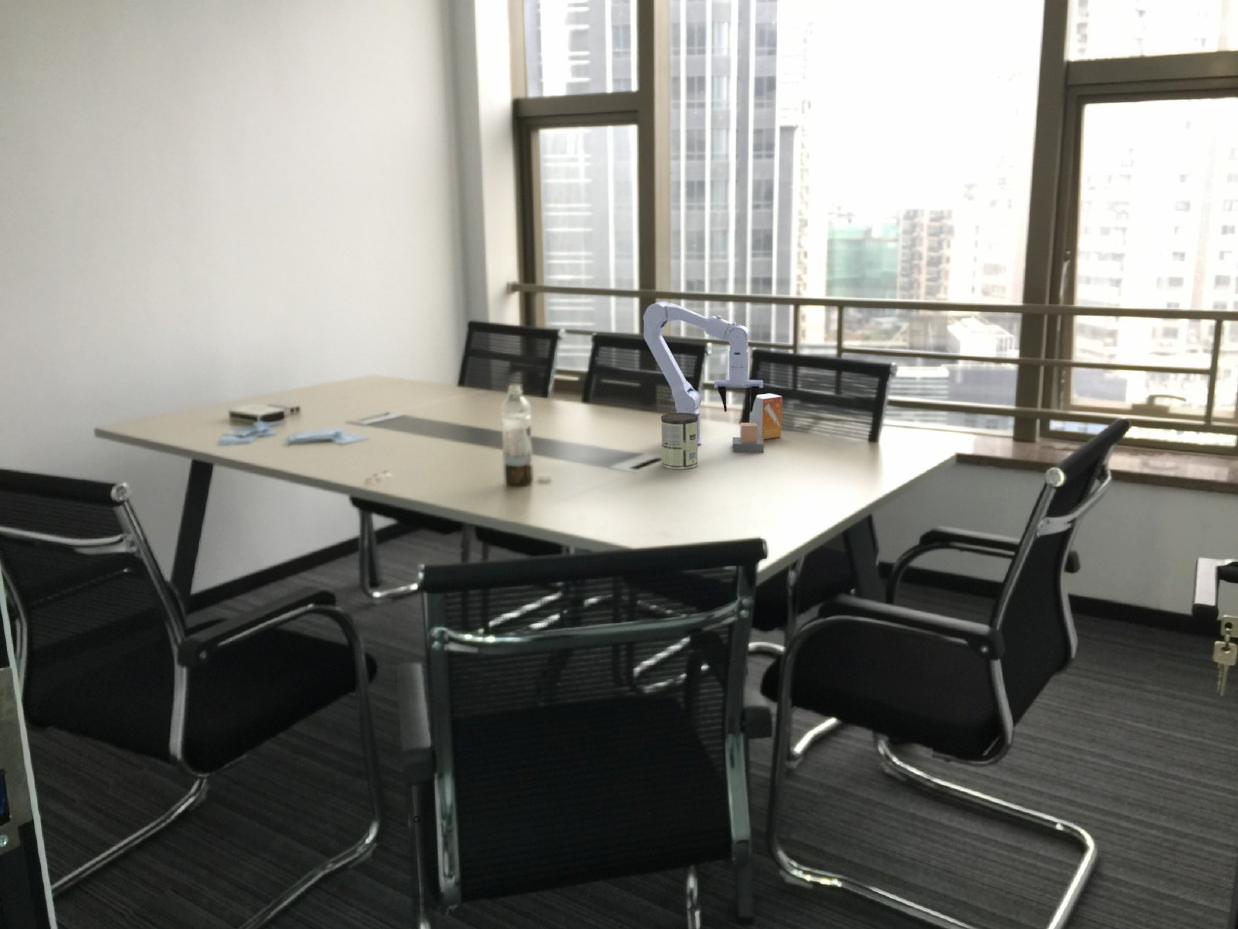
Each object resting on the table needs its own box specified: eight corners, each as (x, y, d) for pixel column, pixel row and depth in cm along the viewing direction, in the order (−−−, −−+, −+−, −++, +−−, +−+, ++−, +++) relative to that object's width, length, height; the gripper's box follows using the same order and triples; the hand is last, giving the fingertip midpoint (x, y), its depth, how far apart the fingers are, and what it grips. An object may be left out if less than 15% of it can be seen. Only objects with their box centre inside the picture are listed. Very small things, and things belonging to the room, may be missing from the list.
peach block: (741, 442, 317) (742, 426, 316) (740, 439, 321) (740, 422, 320) (757, 442, 317) (757, 425, 316) (755, 438, 321) (755, 422, 320)
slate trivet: (732, 453, 316) (733, 444, 315) (732, 446, 325) (732, 437, 324) (763, 454, 315) (763, 444, 314) (762, 446, 324) (762, 437, 323)
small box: (762, 440, 330) (762, 398, 327) (748, 436, 335) (749, 395, 332) (781, 436, 334) (782, 395, 331) (768, 433, 339) (769, 392, 336)
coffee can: (667, 459, 308) (667, 411, 305) (701, 461, 305) (702, 413, 302) (656, 468, 299) (656, 418, 295) (692, 470, 296) (692, 420, 292)
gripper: (714, 368, 316) (714, 413, 319) (763, 368, 314) (763, 413, 318) (714, 364, 322) (714, 409, 326) (762, 364, 321) (761, 408, 325)
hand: (738, 411), depth 322 cm, fingers open, 7 cm apart
